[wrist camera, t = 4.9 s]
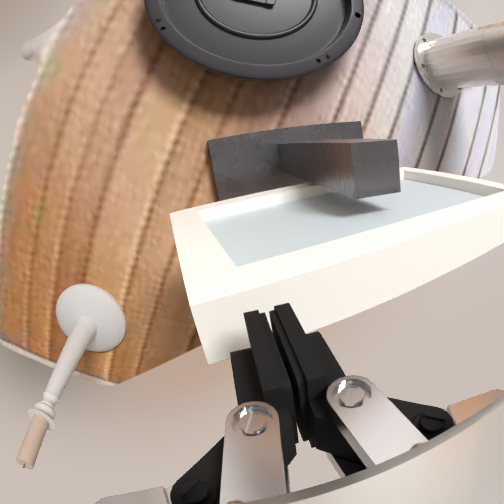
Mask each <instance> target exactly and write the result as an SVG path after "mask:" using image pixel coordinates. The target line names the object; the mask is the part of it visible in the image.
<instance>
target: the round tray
mask: <svg viewBox="0 0 504 504" xmlns="http://www.w3.org/2000/svg"><path fill="white" fill-rule="evenodd" d="M144 2H145V8H146V11H147V14H148V17H149V19H150V22H151V24H152V25H153V27H154V29H155V30H156V32H157V33H158V35H159V36H160V37H161V38H162V39H163V41H164V42H165V43H166V44H167V45H168V46H169V47H170V48H171V49H173V50H174V51H175V52H176V53H177V54H179V55H180V56H181V57H183V58H184V59H186V60H187V61H189V62H191V63H192V64H194V65H196V66H198V67H200V68H202V69H204V70H207V71H209V72H212V73H215V74H218V75H221V76H225V77H229V78H233V79H239V80H246V81H279V80H287V79H292V78H297V77H301V76H305V75H308V74H311V73H313V72H316V71H318V70H321V69H323V68H325V67H327V66H328V65H330V64H332V63H333V62H335V61H336V60H337V59H339V58H340V57H341V56H342V55H343V54H344V53H345V52H346V51H347V50H348V49H349V48H350V47H351V46H352V44H353V43H354V41H355V40H356V38H357V36H358V34H359V32H360V29H361V26H362V22H363V15H364V3H363V0H144Z"/></svg>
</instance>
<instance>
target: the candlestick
mask: <svg viewBox="0 0 504 504" xmlns="http://www.w3.org/2000/svg"><path fill="white" fill-rule="evenodd" d="M56 316H57V320H58V323H59V325H60V327H61V329H62V331H63V332H64V333H65V335H66V336H67V337H68V339H67V342H66V344H65V346H64V348H63V350H62V352H61V355H60V357H59V359H58V361H57V364H56V366H55V368H54V370H53V373H52V375H51V378H50V380H49V382H48V385H47V387H46V390H45V392H44V393H43V400H42V401H41V402H38V403H36V405H35V409H29V410H28V416H29V418H30V419H31V420H32V421H31V423H30V425H29V428H28V430H27V432H26V435H25V437H24V440H23V442H22V445H21V447H20V450H19V452H18V455H17V458H16V460H17V462H18V463H19V464H21V465H22V466H23V468H24V467H25V468H28V469H33V467H34V464H35V461H36V458H37V455H38V452H39V449H40V447H41V444H42V441H43V438H44V436H45V433H46V430H53V429H54V428H55V423H54V421H53V419H54V417H55V412H54V405H56V404H58V400H59V398H60V396H61V394H62V392H63V390H64V388H65V387H66V385H67V383H68V381H69V379H70V377H71V375H72V373H73V371H74V370H75V368H76V366H77V364H78V362H79V360H80V359H81V357H82V355H83V353H84V352H85V350H86V349H87V350H90V351H96V352H103V351H108V350H111V349H113V348H115V347H116V346H117V345H118V344H119V343H120V342H121V341H122V339H123V337H124V334H125V331H126V319H125V315H124V312H123V310H122V308H121V307H120V305H119V303H118V302H117V301H116V300H115V299H114V298H113V297H112V296H111V295H110V294H109V293H108V292H106V291H105V290H103V289H101V288H99V287H97V286H94V285H90V284H76V285H73V286H70V287H68V288H67V289H66V290H65V291H64V292H63V293H62V294H61V295H60V297H59V299H58V301H57V305H56Z"/></svg>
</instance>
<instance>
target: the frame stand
mask: <svg viewBox="0 0 504 504" xmlns="http://www.w3.org/2000/svg"><path fill="white" fill-rule="evenodd" d="M208 145H209V151H210V156H211V161H212V167H213V172H214V177H215V183H216V188H217V193H218V198H219V201H223V200H227V199H231V198H236V197H240V196H245V195H250V194H254V193H259V192H264V191H268V190H273V189H278V188H283V187H288V186H293V185H298V184H303V183H309V182H311V183H314V184H316V185H319V186H322V187H325V188H328V189H330V190H333V191H336V192H338V193H341V194H344V195H346V196H349V197H351V198H354V199H361V198H367V197H373V196H379V195H385V194H392V193H398V192H401V185H400V170H399V158H398V147H397V140H393V139H363V135H362V127H361V121H358V122H342V123H329V124H318V125H308V126H299V127H290V128H282V129H275V130H267V131H260V132H254V133H247V134H241V135H235V136H230V137H224V138H219V139H213V140H208Z"/></svg>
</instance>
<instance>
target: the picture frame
mask: <svg viewBox="0 0 504 504" xmlns="http://www.w3.org/2000/svg"><path fill="white" fill-rule="evenodd" d="M399 170H400V185H401V192H398V193H392V194H385V195H379V196H373V197H367V198H361V199H354V198H351V197H349V196H346V195H344V194H341V193H338V192H336V191H333V190H330V189H328V188H325V187H322V186H319V185H316V184H314V183H311V182H309V183H303V184H298V185H293V186H288V187H283V188H278V189H273V190H268V191H264V192H259V193H254V194H250V195H245V196H240V197H236V198H231V199H227V200H223V201H218V202H214V203H210V204H205V205H201V206H197V207H193V208H189V209H185V210H181V211H177V212H173V213H170V217H171V223H172V228H173V233H174V238H175V242H176V247H177V252H178V257H179V261H180V266H181V270H182V275H183V279H184V283H185V288H186V292H187V296H188V300H189V304H190V308H191V311H192V315H193V318H194V321H195V325H196V328H197V331H198V334H199V337H200V341H201V344H202V347H203V350H204V352H205V356H206V359H207V362H208V365H209V364H213V363H216V362H220V361H224V360H227V359H230V358H231V357H230V352H233V351H238V350H243V349H247V348H251V347H250V342H249V338H248V333H247V328H246V324H245V319H244V314H243V313H245V312H249V311H254V310H258V311H259V313H263V312H265V314H266V317H267V320H268V322H269V325H270V328H271V330H272V327H271V321H270V315H269V311H272V310H274V306H276V305H281V304H285V303H290V305H291V307H292V309H293V311H294V313H295V315H296V316H297V318H298V320H299V322H300V324H301V326H302V328H303V330H304V331H305V333H309V332H312V331H314V330H317V329H320V328H322V327H325V326H327V325H330V324H333V323H335V322H338V321H341V320H343V319H345V318H348V317H350V316H353V315H355V314H358V313H360V312H363V311H365V310H368V309H370V308H372V307H375V306H377V305H379V304H382V303H384V302H386V301H389V300H390V299H393V298H395V297H397V296H400V295H402V294H404V293H406V292H409V291H410V290H413V289H415V288H417V287H419V286H421V285H423V284H426V283H428V282H430V281H431V280H434V279H436V278H438V277H440V276H442V275H444V274H446V273H448V272H450V271H452V270H454V269H456V268H458V267H460V266H461V265H463V264H465V263H467V262H469V261H471V260H473V259H475V258H477V257H478V256H480V255H482V254H484V253H486V252H487V251H489V250H491V249H493V248H495V247H496V246H498V245H500V244H501V243H503V242H504V184H501V183H496V182H491V181H487V180H482V179H477V178H472V177H466V176H461V175H455V174H450V173H444V172H437V171H431V170H424V169H417V168H410V167H399Z"/></svg>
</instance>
